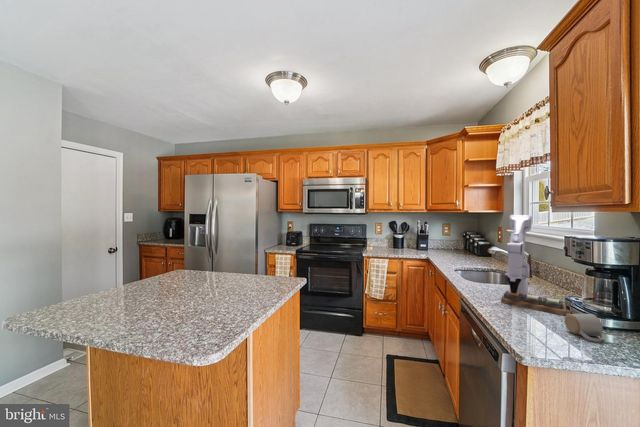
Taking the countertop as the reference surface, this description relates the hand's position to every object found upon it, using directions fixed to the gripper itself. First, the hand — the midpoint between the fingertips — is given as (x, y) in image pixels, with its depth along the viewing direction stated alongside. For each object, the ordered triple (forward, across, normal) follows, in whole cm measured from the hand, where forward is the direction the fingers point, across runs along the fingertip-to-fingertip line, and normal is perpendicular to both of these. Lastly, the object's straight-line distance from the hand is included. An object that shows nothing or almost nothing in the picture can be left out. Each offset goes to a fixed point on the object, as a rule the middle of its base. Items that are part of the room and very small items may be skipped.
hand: (513, 292), depth 136 cm
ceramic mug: (+5, +26, +25) cm, 36 cm away
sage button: (+2, 0, +15) cm, 15 cm away
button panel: (+4, 0, +8) cm, 9 cm away
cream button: (+2, 0, +7) cm, 8 cm away
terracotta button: (+2, 0, 0) cm, 2 cm away
